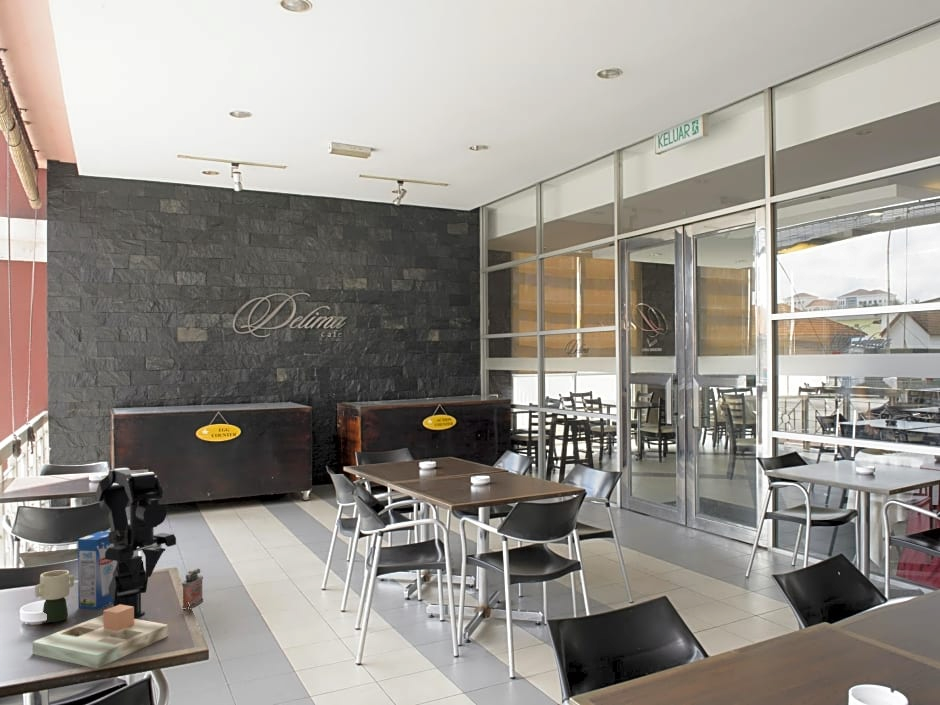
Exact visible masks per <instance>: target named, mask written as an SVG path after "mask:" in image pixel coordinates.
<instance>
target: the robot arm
mask: <svg viewBox="0 0 940 705" xmlns="http://www.w3.org/2000/svg"><path fill="white" fill-rule="evenodd" d="M96 488H97V489H96V493H95V495H96V496H95V497H96V498H95V499H96V501H97V502H98V503H99V507H100V510H102V511H103V512H104V513H105V514H106V515H107V516H108V521H109V527H110V530H111V532H109V538H108V539H109V543H110V544H114V547H110V548H108V549H107V550H106V551H105V559H107V560H115V561H117V565H116V567H115V570H114V572H113V578H112V580H111V583H110V585H109V596H111V597H112V598H113V599H114V602H112V607H114V606H117V605H119V604H121V605H127V606H133V607H134V619H137V618H138V617H140V616H143V615H146V612H145V611H142V594H144V593H145V594H146V593H147V588H148V582H149V578H150V577H151V576H152V575H153V572H154V570H155V568H156V565H157V564H158V562H159V560H160V558H161V557H162V555H163V553H164V552H165V551H166V549H167V548H163V546H162V545H163V544H164V545H165V546H166V547H172V546H176V545H177V538H176V536H175V534H173V533H165V532H161V533H160V532H159V533H157V534H154V528H157V527H158V526H159V525H161V524H162V523H164V522H165V519H166V517H167V510H166V508H165V507H164V505H163V504H160V503H159V499H163V493H164V491H163V488H162V485H161V482H160V480H159V478H158V475H156V474H155V472H153V471H147V472H137V471H134V470H131V469H130V468H129V467H117V468H112V469H110V470H109V471H108V474H107V475H106V476H104V478H102V479H101V480H99V482H98V486H97V487H96ZM128 504H129V520H128V515H127V509H126V508H127V506H128ZM140 551H142V553H143V555H144V557H145V563H144V560H143V556H142V555H139V552H140ZM144 564H145V565H144Z"/></svg>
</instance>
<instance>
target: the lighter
mask: <svg viewBox="0 0 940 705" xmlns="http://www.w3.org/2000/svg"><path fill="white" fill-rule="evenodd" d="M200 573H201V568H195V569H192V570H188V573H186V574H185V580H184V581H182V583H181V586H182V601H183V602H182V608H186V609H188V607H189V609H190V608H191V609H190V610H192V609H194V608H196V607H198V606H200V605H202V603H203V602H204V598H203V579H204V575H199V574H200ZM188 602H189V604H190V606H189V604H188Z"/></svg>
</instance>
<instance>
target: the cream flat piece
mask: <svg viewBox="0 0 940 705" xmlns="http://www.w3.org/2000/svg"><path fill="white" fill-rule="evenodd" d="M168 625H169V624H166V623H161V622H155V621H150V620H144V619H138V618H134V624H133V625H131V626H128V627H126V628H124V629H121V630H119V631H116V630H110V629H105V628H104V627H103V614H101V615H100V616H96V617H94V618H92V619H89V620H85V621H84V622H80V623H79V624H76V625H73V626H70V627H68V628H65V629H62V630H60V631H57V632H55V633H52V634H49V635H46V636H44V637H41V638H38V639H35V640H33V641H32V655H34V654H35V655H34V656H40V657H45V658H48V659H52V660H53V659H54V660H58V661H62V662H67V663H70V664H71V663H72V664H76V665H81V666H85V667H90V668H93V669H99V668H101V667H103V666H106V665H107V664H111V663H112V662H115V661H116V660H119V659H121V658H123V657H125V656H127V655H130V654H132V653H134V652H137V651H139V650H141V649H143V648H145V647H148V646H150V645H152V644H153V643H156V642H159V641H160V640H163V639H165V638H168V637H167V636H169V626H168Z"/></svg>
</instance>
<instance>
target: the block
mask: <svg viewBox="0 0 940 705" xmlns="http://www.w3.org/2000/svg"><path fill="white" fill-rule="evenodd" d="M102 615H103V627H104V628H105V629H110V630H116V631H119V630H121V629H124V628H126V627H128V626H131V625H133V624H134V619H135V618H134V607H133V606H127V605H121V604H119V605H117V606H114V607H113V606H112V607H109V608H106V609H104V610H103V614H102Z"/></svg>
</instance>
